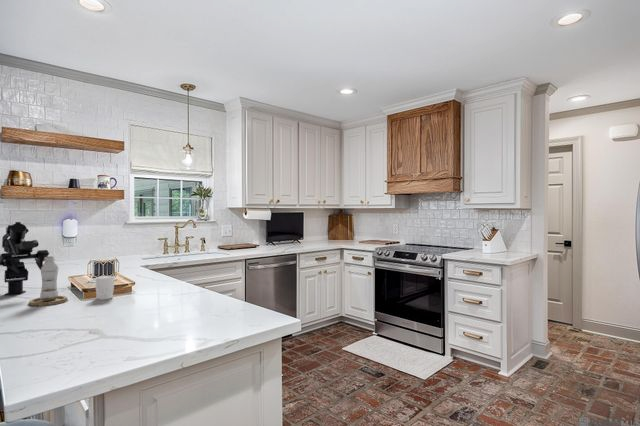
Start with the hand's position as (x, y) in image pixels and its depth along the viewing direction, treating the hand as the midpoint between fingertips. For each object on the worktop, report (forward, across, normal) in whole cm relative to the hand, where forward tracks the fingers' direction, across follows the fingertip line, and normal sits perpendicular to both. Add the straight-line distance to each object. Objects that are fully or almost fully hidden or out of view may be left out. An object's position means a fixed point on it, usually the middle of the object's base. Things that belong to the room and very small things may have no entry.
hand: (30, 270), depth 171 cm
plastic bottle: (+19, +2, -1) cm, 19 cm away
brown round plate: (+19, +1, 0) cm, 19 cm away
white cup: (+28, +19, -10) cm, 36 cm away
